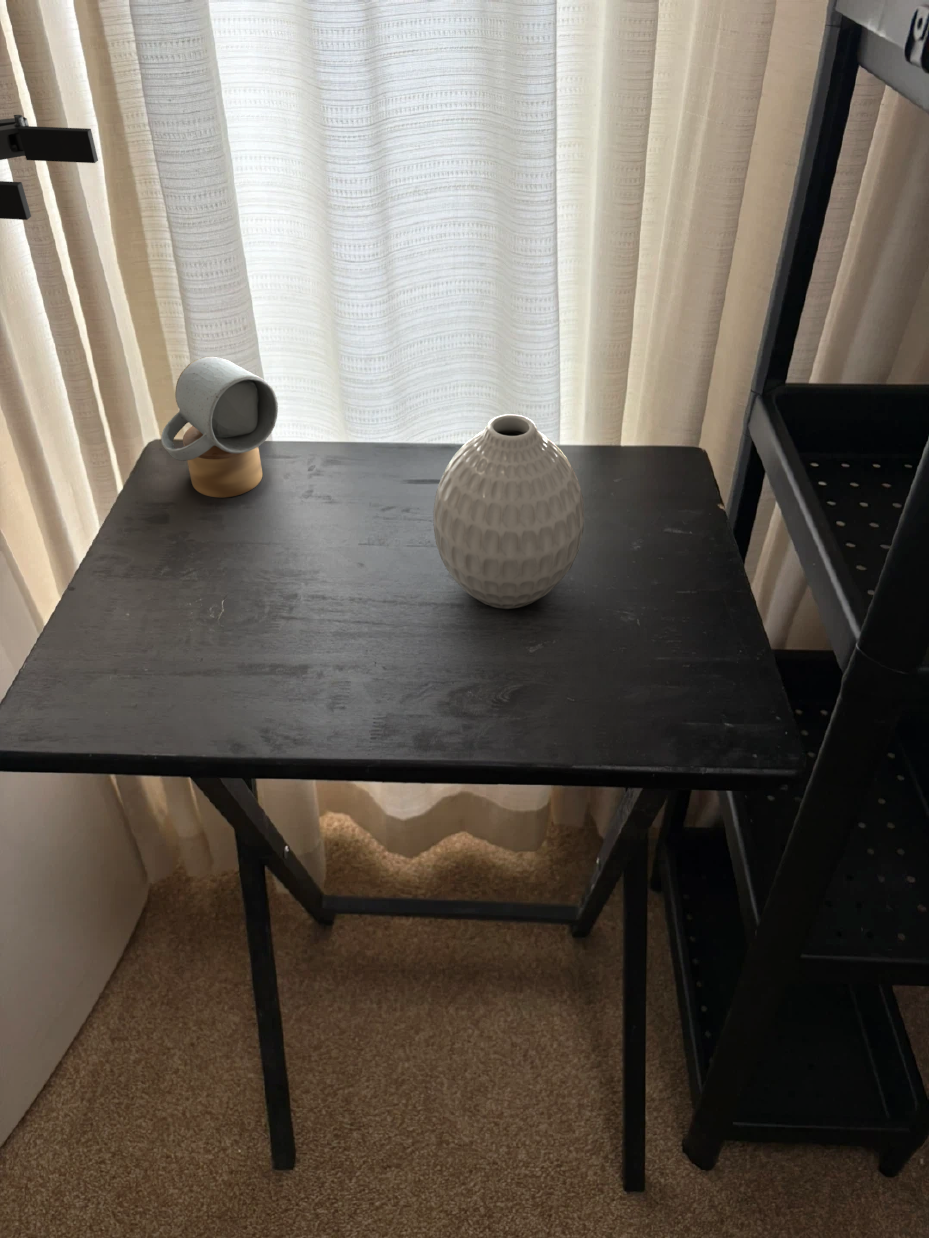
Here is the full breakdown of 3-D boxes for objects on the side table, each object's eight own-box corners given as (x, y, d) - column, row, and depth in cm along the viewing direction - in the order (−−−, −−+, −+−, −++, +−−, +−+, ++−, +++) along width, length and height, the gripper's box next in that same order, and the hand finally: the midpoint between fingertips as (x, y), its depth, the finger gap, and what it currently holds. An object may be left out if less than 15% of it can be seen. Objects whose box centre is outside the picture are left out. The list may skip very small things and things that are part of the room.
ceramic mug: (239, 405, 107) (226, 337, 102) (284, 436, 102) (273, 367, 97) (148, 444, 102) (129, 374, 97) (191, 479, 97) (174, 407, 92)
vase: (476, 653, 87) (478, 488, 75) (411, 567, 95) (403, 408, 84) (605, 606, 91) (624, 444, 80) (532, 528, 99) (539, 372, 88)
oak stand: (193, 502, 103) (184, 459, 100) (189, 463, 108) (180, 422, 105) (266, 491, 104) (259, 449, 101) (258, 454, 109) (252, 412, 106)
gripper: (-81, 159, 101) (126, 168, 99) (-245, 262, 83) (5, 276, 81) (-110, 75, 96) (107, 82, 94) (-291, 165, 78) (-26, 177, 76)
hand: (61, 172), depth 87 cm, fingers open, 13 cm apart
